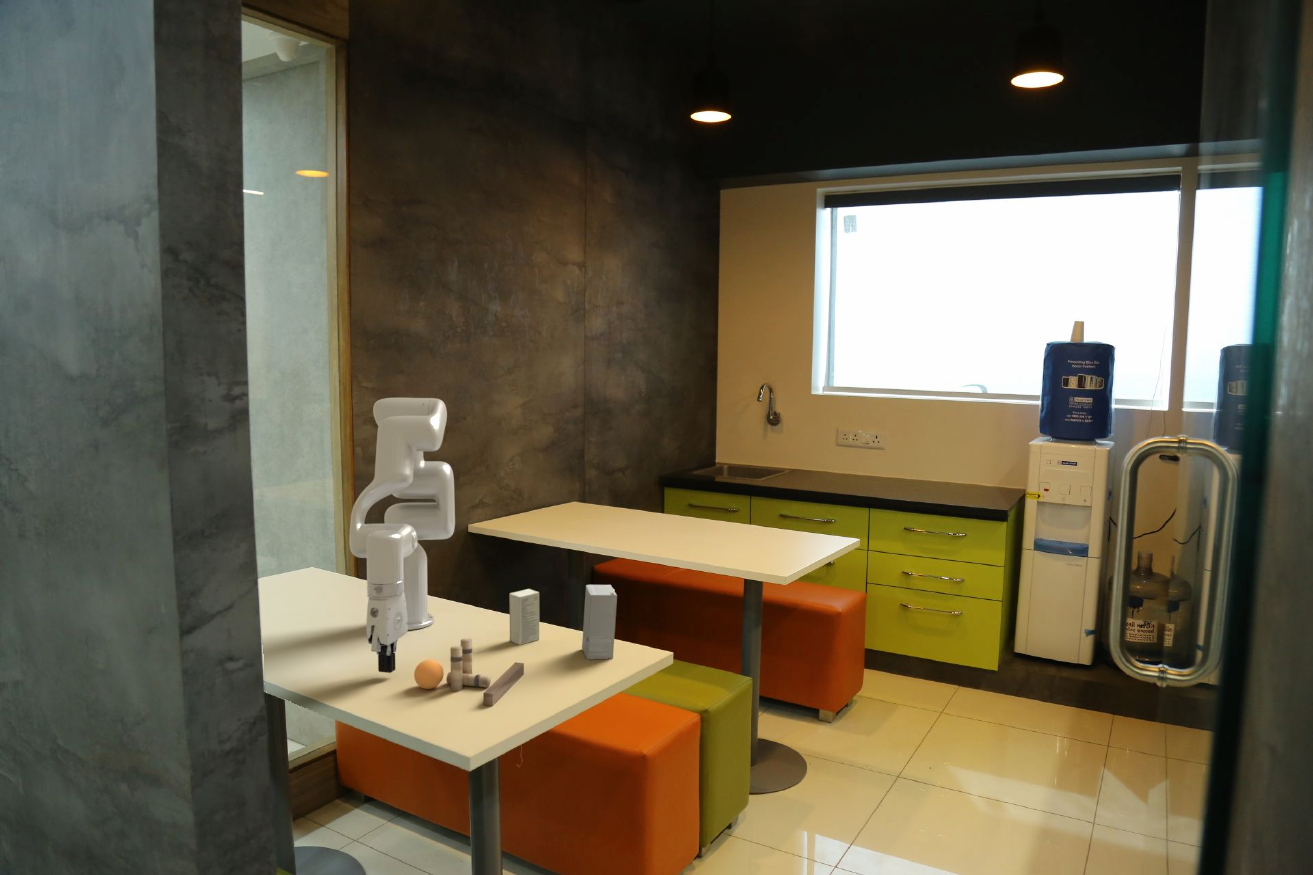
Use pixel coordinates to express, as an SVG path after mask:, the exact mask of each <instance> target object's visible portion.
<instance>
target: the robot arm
mask: <svg viewBox="0 0 1313 875" xmlns="http://www.w3.org/2000/svg"><path fill="white" fill-rule="evenodd" d="M446 406H447V405H446V404H445V402H444V401H443V400H441V399H439V398H435V397H386V398H381V399H379V400H377V401H375V403H374V405H373V408H372V412H373V417H374V420H375V423H376V425H377V426H378V427H377V435H376V451H375V463H374V464H375V466H374V477H373V480H372V481H371V482H370V484H368V486H365V488H364V490H362V491H361V493H360V494H359V495H358V497H357V499H356V501H355V502H354V504H353V506H352V510H351V514H350V524H349V525H350V527H349V538H348V539H349V549H350V552H351V554H352V555H353V556H354V557H356V558H359V559H360V558H362V559H366V585H367V586H366V590H367V592H366V593H367V594H366V595H367V596H366V597H367V598H368V601H367V610H366V628H365V629H366V639H367V640H366V641H367V643H368V644H370V645H371V646H370V648H371V650H370V651H371V652H373V653H374V652H375V653H376V655H377V667H378V668H377V669H378V672H379V673H388V674H391V673H393V672H394V671H396V652H397V648H398V647H397V644H398V640H399V639H400V638H402V637H404V636H405V635H406V634H407V633H408V631H410V630H419V629H423V628H426V627H428V626H431V625H432V624H434V620H435V618H434V617H435V616H433V615H432V614H431V613H428V612H429V611H428V609H429V608H428V556H427V553H426V551H425V550H424V547H422V545H421V544H420V543H419V542H418V541H423V540H425V541H426V540H430V541H431V540H432V541H433V540H446V539H450V538H451V537H452V536H453V534H454V532H455V526H456V514H455V513H456V508H455V506H456V505H455V504H456V503H455V479H454V476H455V475H454V472H453V469H452V466H451V465H450V464H449V463H447V462H446V461H440V460H439V461H438V460H437V461H435V460H434V461H430V460H429V461H428V460H425V458H424V452H435V451H438V450H439V449H441V446H442V444H443V439H444V434H445V428H446V425H447V418H448V411H447V407H446ZM390 495H392V496H394V497H395V498H398V499H404V500H405V499H409V500H410V499H412V500H413V499H421V500H422V499H433V500H435V502H399V503H394V504H393V505H391V506H389V507H388V508H387V509H386V511H385V513H384V519H383V520H384V523H365V520H366V516H367V513H368V512H369V510H370V508H371V507H372V506H374V505H375V503H377V502H379V501H380V500H383V499H384V498H387V497H388V496H390Z"/></svg>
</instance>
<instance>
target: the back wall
mask: <svg viewBox="0 0 1313 875" xmlns="http://www.w3.org/2000/svg"><path fill="white" fill-rule="evenodd" d="M524 674H525V663H524V662H514V663H513V664H512V665H511V666H510V667H509V668H508V669H507V670H506V671H504V673H503V674H501V675H500V676H499V677H498V678H497V679H496V680H495V681H494V682H493V683H492V684H491V685H490V686H489V687H488V688H487V689H486V690H484V691H483V696H482V698H483V700H482V701H483V702H482V703H483V706H490V707H494V705H495V704H497V702H498V701H499V700H500V699H501V698H502V697H503V696H504V695H505V694H507V692H508V691H509V690H510V689H511V688H512V687H513V686H514V685H515V684H516V683H517V682H518V681H519V680H520V679H521V678H522V677H523V675H524Z"/></svg>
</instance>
